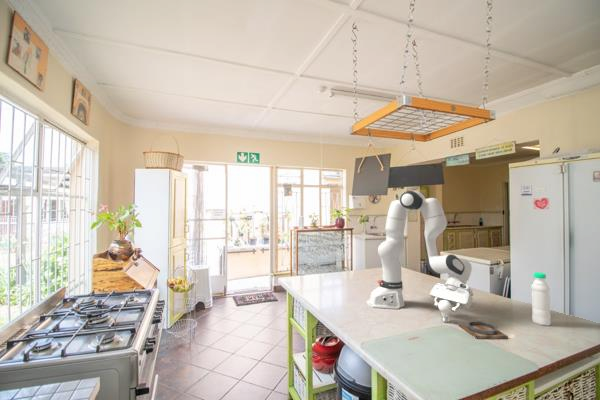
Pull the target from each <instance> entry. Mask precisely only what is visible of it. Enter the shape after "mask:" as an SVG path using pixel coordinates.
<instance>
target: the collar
mask: <svg viewBox="0 0 600 400" xmlns="http://www.w3.org/2000/svg"><path fill="white" fill-rule="evenodd" d="M471 325H480V326H486V327H489V328H491V329H493V330H492V331H486V330H480V329H477V328H474V327H472V326H471ZM467 328H468V329H469V330H471V331H473V332H476V333H479V334H484V335H495V334H497V330H498V328H497V326H495V325H494V324H491V323H488V322H485V321H479V320H471V321H467Z"/></svg>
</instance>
